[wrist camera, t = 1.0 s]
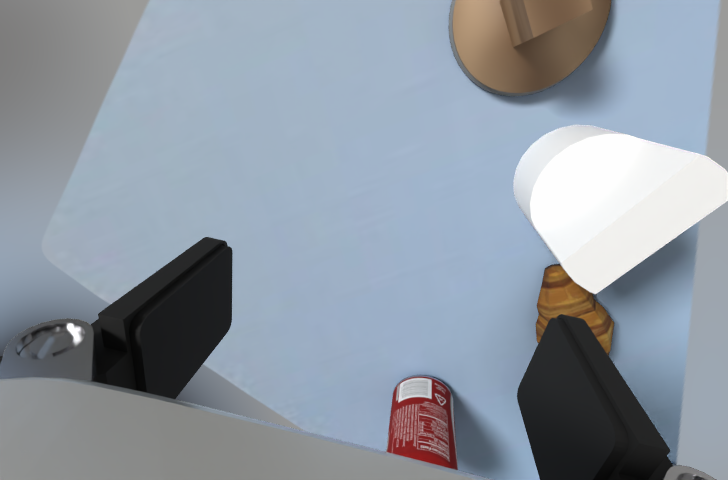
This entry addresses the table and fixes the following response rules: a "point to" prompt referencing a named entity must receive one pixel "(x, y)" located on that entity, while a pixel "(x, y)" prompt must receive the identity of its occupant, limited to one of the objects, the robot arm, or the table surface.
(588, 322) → the croissant
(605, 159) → the base with upright slab
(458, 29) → the lid
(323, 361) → the table surface
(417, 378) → the soda can
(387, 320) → the table surface
